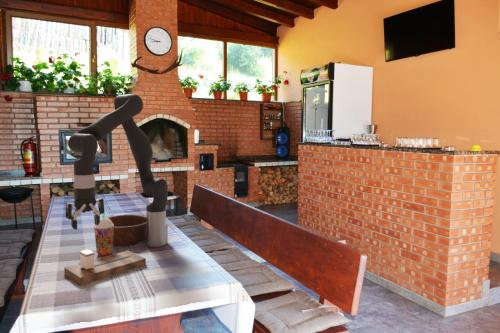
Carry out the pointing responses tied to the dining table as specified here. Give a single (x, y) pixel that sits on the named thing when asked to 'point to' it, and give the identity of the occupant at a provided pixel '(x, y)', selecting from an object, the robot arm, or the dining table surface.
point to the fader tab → (87, 259)
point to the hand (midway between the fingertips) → (86, 226)
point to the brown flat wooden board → (105, 267)
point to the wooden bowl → (129, 229)
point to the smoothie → (104, 237)
